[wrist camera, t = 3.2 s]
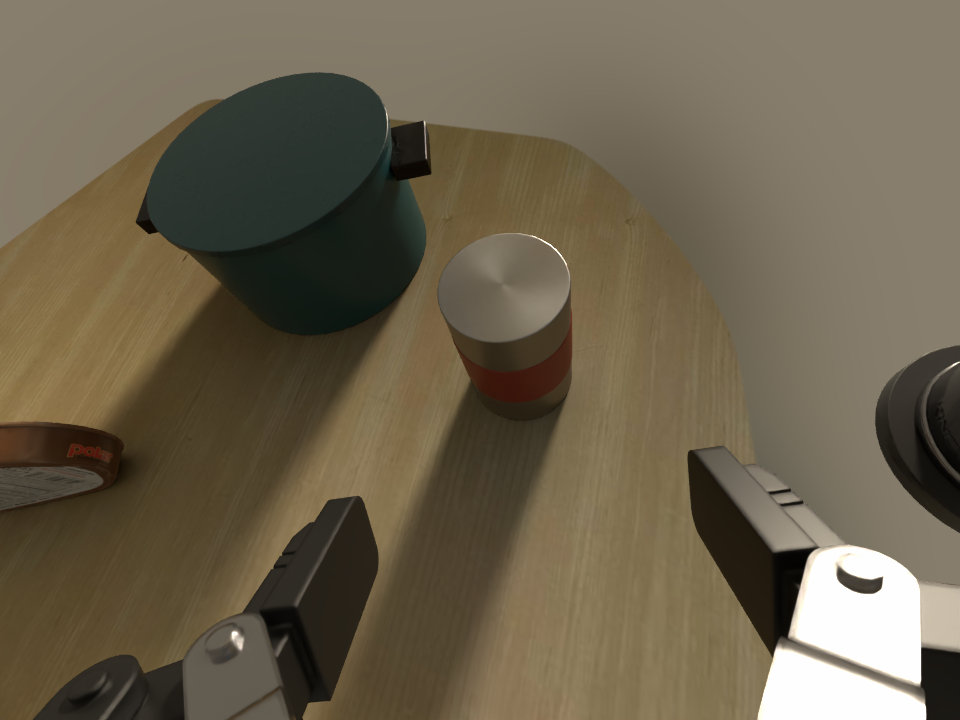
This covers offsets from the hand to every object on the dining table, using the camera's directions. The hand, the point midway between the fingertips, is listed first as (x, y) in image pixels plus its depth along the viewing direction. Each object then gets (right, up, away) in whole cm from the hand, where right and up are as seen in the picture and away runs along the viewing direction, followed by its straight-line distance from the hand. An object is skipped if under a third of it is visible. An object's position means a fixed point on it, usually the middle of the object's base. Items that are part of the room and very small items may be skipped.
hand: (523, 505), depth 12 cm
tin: (-31, -6, +22) cm, 39 cm away
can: (+2, +3, +20) cm, 20 cm away
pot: (-13, +13, +28) cm, 33 cm away
